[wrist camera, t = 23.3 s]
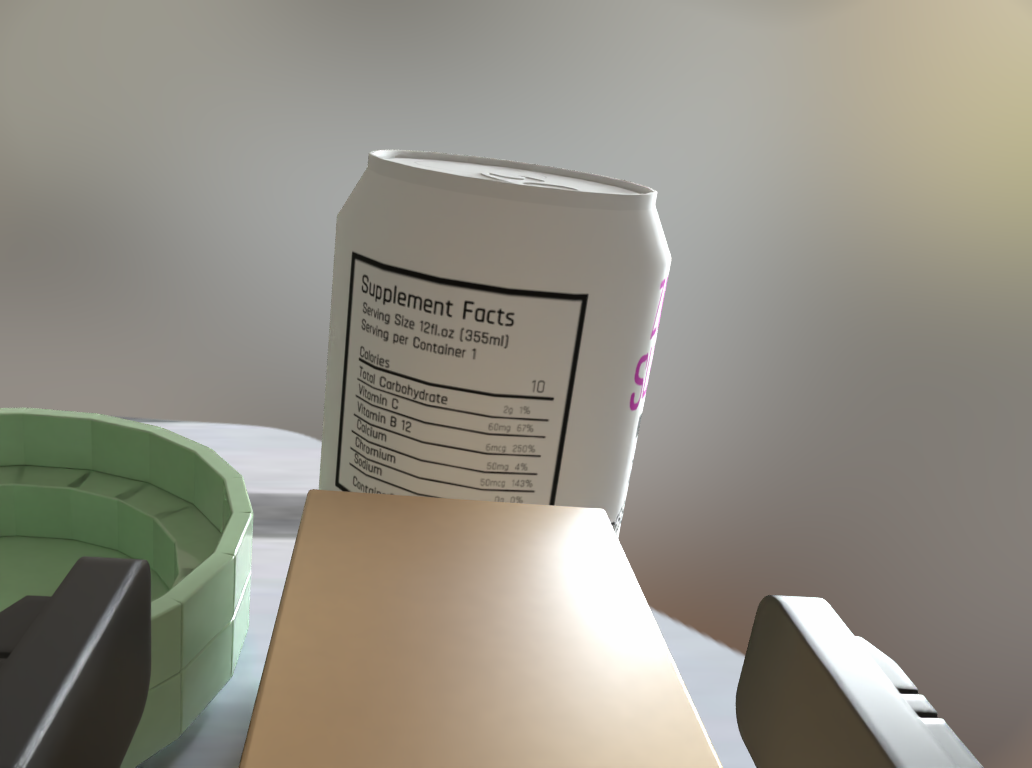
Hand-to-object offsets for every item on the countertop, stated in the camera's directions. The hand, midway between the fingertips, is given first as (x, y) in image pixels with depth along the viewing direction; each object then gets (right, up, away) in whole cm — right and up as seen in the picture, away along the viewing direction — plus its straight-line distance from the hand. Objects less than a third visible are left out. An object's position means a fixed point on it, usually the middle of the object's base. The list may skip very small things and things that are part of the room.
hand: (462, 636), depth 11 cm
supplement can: (-1, -6, +14) cm, 16 cm away
